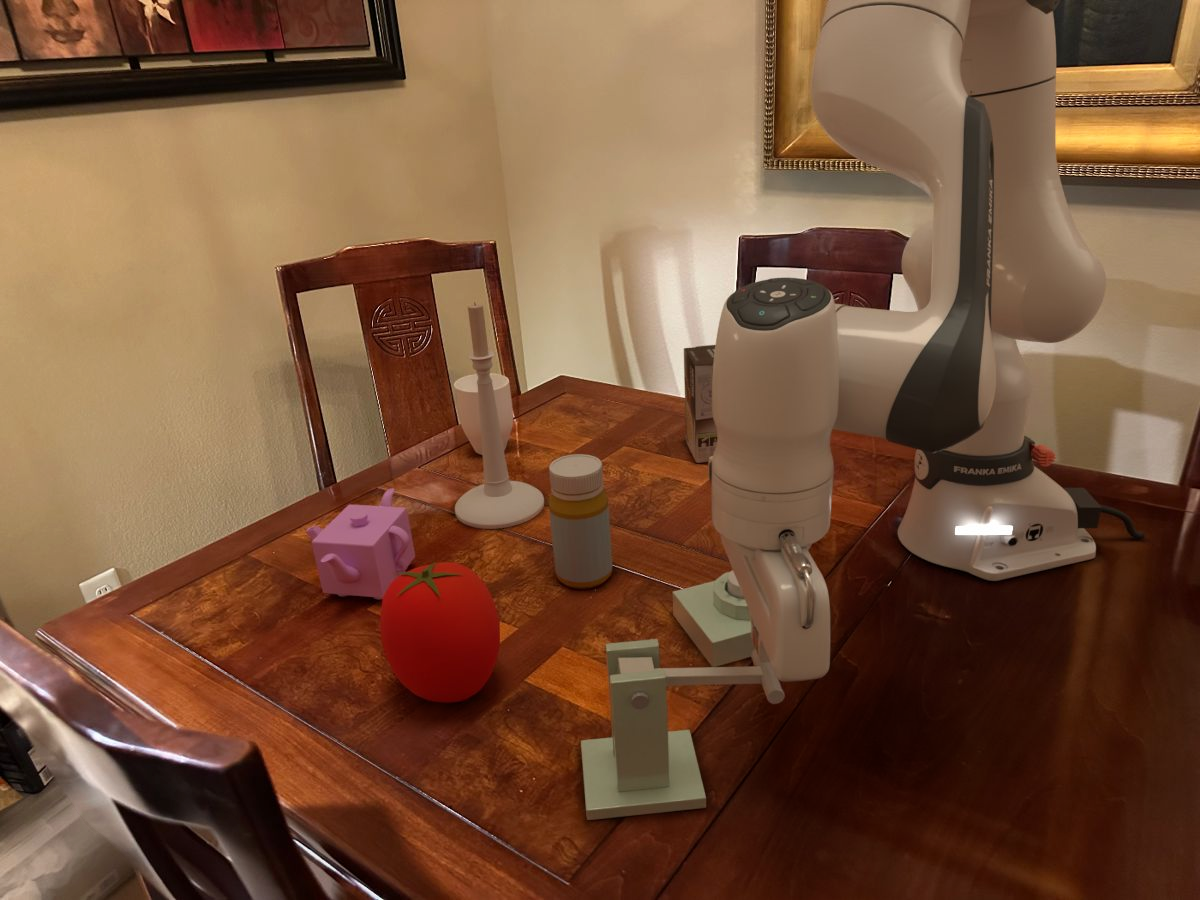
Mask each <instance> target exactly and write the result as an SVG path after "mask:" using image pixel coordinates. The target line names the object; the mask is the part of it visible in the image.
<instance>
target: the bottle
mask: <svg viewBox="0 0 1200 900" xmlns="http://www.w3.org/2000/svg"><path fill="white" fill-rule="evenodd" d="M603 471H604V469H603V463H602V460H601V459H599V458H598V457H597V456H594V455H590V454H584V453H583V454H582V453H575V454H567V455H564V456H560V457H558V458H556V459H554V460H553V461H551V463H550V464H549V467H548V472H549V482H550V492H551V493H550V497H549V500H548V511H549V520H550V533H551V541H552V542H551V543H552V551H553V563H554V570H555V577H556V578H557V579H558V581H559V582H561V584H563V585H565V586H566V587H569V588H571V589H575V590H577V589H578V590H585V589H593V588H596V587H599V586H600V585H602V584H604V583H605V582H606V581H607V580H608V579H609V578H610V577H611V575H612V572H613V553H612V539H611V535H612V534H611V522H610V506H609V498H608V495H607V493H606V490H605V488H604V472H603Z"/></svg>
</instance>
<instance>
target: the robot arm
mask: <svg viewBox="0 0 1200 900" xmlns="http://www.w3.org/2000/svg"><path fill="white" fill-rule="evenodd" d="M1060 2H1061V0H827V3H826V6H825V10H824V14H823V18H822V22H821V25H820V30H819V33H818V37H817V39H818V40H817V42H816V47H815V51H814V57H813V61H812V68H811V76H810V88H809V89H810V104H811V107H812V110H813V113H814V115H815V118H816V120H817V122H818V124H819V125H820V127H821V129H822V130H823V131H824V133H825V134H826V135H827V137H829V138H830V139H831V141H833V143H834V144H835V145H837V146H838V147H840V148H841V149H842V150H843V151H844V152H846V153H847V154H849V155H851V156H852V157H854V158H855V159H858V160H859V161H861V162H863V163H865V164H867V165H869V166H872V167H875V168H877V169H880V170H882V171H884V172H886V173H889V174H892V175H894V176H897V177H899V178H901V179H902V180H905V181H907V182H909V183H910V184H912V185H914V186H915V187H917V188H918V189H920V190H922V191H923V192H924V193H925V194H926V195H928V197H929V198H930V199H931V202H932V205H933V206H932V208H933V218H932V219H930V220H928V221H926V222H924V223H922V224H921V225H920V226H919V227H918V228H916V229H915V230H914V232H913V233H912V234H911V235H910V237H909V239H908V240H907V241H906V243H905V246H904V249H903V252H902V257H901V272H902V276H903V278H904V281H905V283H906V285H907V286H908V288H909V290H910V292H911V295H912V296H913V298H914V301H915V304H916V308H917V309H916V311H901V310H891V309H880V308H879V309H878V308H871V307H861V306H852V305H851V306H850V305H847V304H841V303H836V302H835V297H834V295H833V294H832V292H831V291H830V290H829V289H828V288H827V287H826V286H825V285H823V284H821V283H819V282H816V281H813V280H810V279H807V278H806V279H805V278H798V277H772V278H768V279H762V280H759V281H755V282H751V283H748V284H746V285H744V286H742V287H740V288H738V289H737V290H735V291H734V292H733V293H731V294H730V295H729V296H728V297H727V298H726V300H725V302H724V304H723V306H722V310H721V313H720V318H719V321H718V328H717V333H716V339H715V344H714V345H715V353H714V364H713V379H712V415H713V419H714V422H715V425H716V429H717V444H716V448H715V451H714V454H713V456H711V457H710V458H709V462H707V463H708V465H707V466H708V468H707V470H708V479H709V483H710V486H711V523H712V526H713V528H714V529H715V530H716V532H717V533H718V534H719V537H720V541H721V544H722V547H723V549H724V551H725V554H726V557H727V559H728V561H729V564H730V567H731V570H733V571H734V574H735V576H736V579H737V581H738V584H739V586H740V589H741V591H742V594H743V596H744V599H745V601H746V604H747V606H748V609H749V614H750V620H751V638H752V641H753V644H754V646H755V648H756V651H757V654H758V656H759V659H760V661H762V662H770V663H771V665H772V668H773V671H774V673H775V675H776V677H777V678H778V679H779V682H786V683H787V682H804V681H811V680H819V679H822V678H823V677H824V676H826V675H827V673H828V672H829V670H830V664H831V603H830V595H829V590H828V586H827V583H826V580H825V578H824V576H823V573H822V572H821V570H820V569H819V567H818V565H817V563H816V561H815V559H814V558H813V556H812V555H811V553H810V551H809V550H810V548H812V545H813V544H815V543H817V542H818V541H820V540H822V539H823V538H824V537H825V536H826V535H827V533H828V532H829V531H830V528H831V521H832V503H833V487H834V474H835V461H834V457H833V452H832V448H831V436H832V433H833V431H837V432H842V433H843V432H844V433H849V434H856V435H860V436H865V437H872V438H876V439H877V438H878V439H883V440H887V442H889V443H893V444H896V445H900V446H904V447H907V448H911V449H915V453H914V454H915V455H914V473H913V475H914V482H913V486H912V490H911V494H910V498H909V500H908V505H907V507H906V510H905V513H904V515H903V517H902V519H901V522H900V524H899V525H898V528H897V538H898V541H900V543H901V544H902V546H903V547H905V549H906V550H908V551H909V552H910V553H912V554H913V555H915V556H917V557H919V558H920V559H922V560H925V561H927V562H929V563H932V564H935V565H938V566H942V567H946V568H950V569H954V570H959V571H963V572H967V573H969V574H971V575H973V576H975V577H978V578H980V579H983V580H986V581H991V582H998V581H1002V580H1007V579H1012V578H1015V577H1020V576H1024V575H1029V574H1033V573H1037V572H1041V571H1046V570H1050V569H1054V568H1059V567H1063V566H1064V567H1065V566H1067V565H1068V566H1069V565H1073V564H1078V563H1080V562H1085V561H1089V560H1090V561H1091V560H1093V559H1095V558H1096V555H1097V544H1096V542H1095V540H1094V539H1093V537H1092V535H1091V534H1090V533H1089V532H1088V531H1087V530H1086V529H1098V527H1099V522H1100V517H1101V513H1102V514H1107V515H1111V516H1114V517H1115V518H1118V519H1120V520H1121V521H1122V522H1123V524H1124V526H1125V530H1126V531H1127V533H1128V534H1129V536H1131V537H1132V538H1133V539H1137V540H1138V539H1144V538H1145V533H1144V531H1142V530H1141V531H1138V530H1136V528H1135V526H1134V522H1133V520H1132V518H1131V517H1130V516H1129V515H1127V514H1126V513H1125V512H1123V511H1121V510H1119V509H1117V508H1114V507H1111V506H1107V505H1103V504H1099V503H1098V502H1097V500H1096V499H1095V498H1094V497H1093V496H1092V495H1091V494H1090V493H1089V492H1088V491H1087V489H1086V488H1085V487H1062V486H1061V485H1060V484H1059V483H1057V482H1056V481H1055V480H1053V479H1052V478H1051V477H1050V476H1049V475H1047V474H1046V473H1045V472H1043V471H1042V470H1041V469H1039V468H1038V467H1037V466H1035V465H1034V464H1035V463H1034V461H1036V462H1037V464H1039V465H1040V467H1041V466H1042V467H1049V466H1051V465H1052V463H1055V460H1056V453H1055V452H1054V451H1053V450H1052V449H1050V448H1048V447H1047V446H1046V445H1045V444H1038V445H1036V442H1035V441H1034V440H1033V439H1032V438H1030V437H1029V436H1027V435H1025V434H1026V427H1027V421H1028V414H1029V410H1030V403H1031V398H1032V397H1031V396H1032V391H1033V378H1032V373H1031V371H1030V369H1029V367H1028V365H1027V363H1026V362H1025V359H1024V358H1023V357H1022V355H1021V352H1020V349H1019V347H1018V344H1017V340H1019V341H1024V342H1033V343H1044V344H1056V343H1060V342H1064V341H1067V340H1069V339H1071V338H1072V337H1074V336H1077V334H1079V333H1081V332H1082V331H1083V330H1084V329H1085V328H1086V327H1087V326H1088V325H1089V324H1090V323H1091V322H1092V320H1093V319H1094V318H1095V317H1096V315H1097V313H1098V312H1099V311H1100V308H1101V306H1102V304H1103V301H1104V297H1105V293H1106V286H1107V278H1106V277H1107V276H1106V271H1105V268H1104V266H1103V264H1102V262H1101V260H1100V259H1099V258H1098V257H1097V256H1096V254H1095V253H1094V252H1093V251H1092V250H1091V249H1090V248H1089V246H1088V245H1087V243H1086V241H1084V239H1083V238H1082V236H1081V233H1080V232H1079V230H1078V228H1077V226H1076V223H1075V221H1074V218H1073V216H1072V213H1071V210H1070V208H1069V205H1068V202H1067V198H1066V195H1065V192H1064V189H1063V183H1062V181H1061V177H1060V171H1059V166H1058V159H1057V148H1056V107H1057V106H1056V104H1057V103H1056V95H1057V92H1056V91H1057V43H1056V42H1057V41H1056V38H1057V37H1056V27H1055V18H1054V11H1055V10H1056V9H1057V7H1058V6H1059V4H1060ZM1033 460H1034V461H1033Z"/></svg>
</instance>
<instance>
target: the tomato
mask: <svg viewBox="0 0 1200 900" xmlns="http://www.w3.org/2000/svg"><path fill="white" fill-rule="evenodd" d="M395 574H402V575H400V576H398V577H397V578H396V579H394V580H393V581H392V582H391V583H390V585H389V587H388V588H387V590H386V592H385V594H384V596H383V599H381V607H380V618H379V619H380V621H379V622H380V623H379V627H380V628H379V629H380V640H381V645H382V648H383V651H384V655H385V658H386V660H387V662H388V664H389V666H390V668H391V671H392V672H393V674H394V675H395V677H396V678H397V680H398V681H399V683H401V684H402V685H403V686H404V687H405V688H406V689H407V690H408V691H410V692H411V693H412V694H414V695H415V696H417V697H419V698H422V699H424V700H426V701H429V702H434V703H441V704H442V703H444V704H451V703H460V702H463V701H465V700H468V699H470V698H471V697H473V696H474V695H476V694H477V693H479V692H480V691H481V690H482V688H483V687H484V686H485V685H486V683H487V682H488V680H489V679H490V677H491V675H492V673H493V671H494V668H495V665H496V663H497V660H498V657H499V653H500V651H499V650H500V646H501V625H500V624H501V621H500V618H499V614H498V611H497V607H496V604H495V600H494V599H493V597H492V594H491V593H490V591H489V589H488V587H487V586H486V583H485V582H484V581H483V580H482V579H481V578H480V577H479V576H478V575H477V574H476V572H475V571H474V570H473V569H471V568H469V567H467V566H465V565H463V564H460V563H457V562H451V561H448V562H438V563H437V562H436V561H434V562H433V563H431V564H425V565H422V566H418V567H414V568H412V569H410V570H408V571H406V572H405V573H395Z"/></svg>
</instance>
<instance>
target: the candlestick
mask: <svg viewBox="0 0 1200 900" xmlns="http://www.w3.org/2000/svg"><path fill="white" fill-rule="evenodd" d="M484 311H485V309H484V304H482V303H476V301H474V303H473V304H469V305H467V313H468V320H469V327H470V338H471V344H472V352H471V353H469V354H468V355H467V358H469V360H471V361H472V369H473V370H475V371H476V373H475V374H478V380H477V385H478V398H479V412H480V426H481V440H482V453H483V455H482V468H483V481H484V483H481V484H479V485H477V486H475V487H473V488H471V489H469V490H468V491H466V492H465V493H463V495H462V496H460V497H459V498H458V499H457V501H456V503H455V505H454V514H455V517H456V518H457V520H458V521H459V522H461V523H462V524H463V525H466V526H469V527H471V528H476V529H485V530H486V529H487V530H488V529H489V530H496V529H504V528H509V527H515V526H518V525H521V524H524V523H527V522H528V521H531V520H532V519H533V518H535V517H536V516H538V515H539V514H540V513H541V512H542V510H543V509H544V506H545V497H544V495H543V493H542V491H541V490H539V489H538V488H536V487H535V486H533V485H531V484H529V483H526V482H523V481H517V480H510V474H509V472H508V471H509V470H508V465H507V460H506V454H505V450H504V448H503V442H502V437H501V431H500V425H499V419H498V413H497V408H496V402H495V396H494V390H493V385H492V379H491V378H490V373H491V369H492V367H493V361H492V359H493V357H494V356H495V355H496V352H494V351H491V350H489V345H488V336H487V327H486V321H485V319H486V318H485V312H484Z"/></svg>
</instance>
